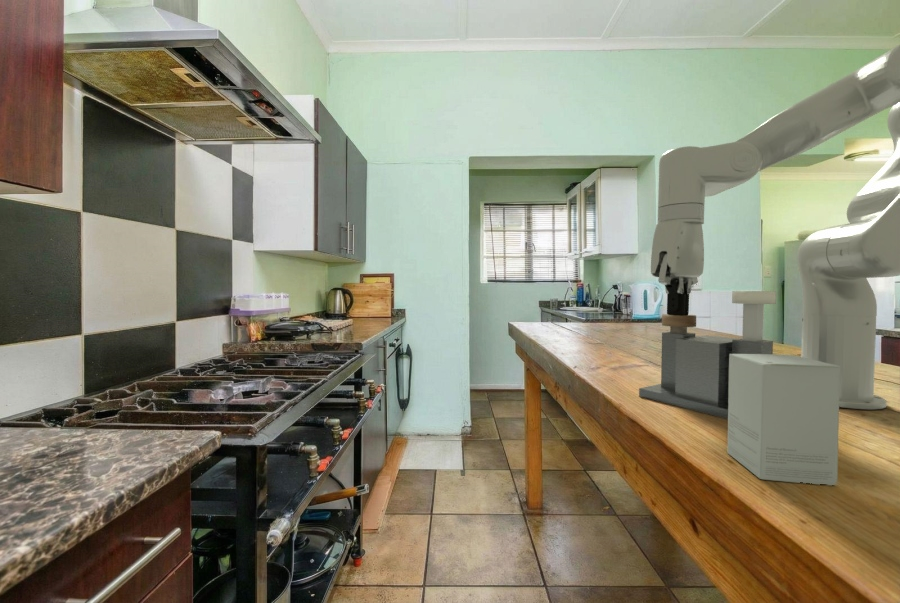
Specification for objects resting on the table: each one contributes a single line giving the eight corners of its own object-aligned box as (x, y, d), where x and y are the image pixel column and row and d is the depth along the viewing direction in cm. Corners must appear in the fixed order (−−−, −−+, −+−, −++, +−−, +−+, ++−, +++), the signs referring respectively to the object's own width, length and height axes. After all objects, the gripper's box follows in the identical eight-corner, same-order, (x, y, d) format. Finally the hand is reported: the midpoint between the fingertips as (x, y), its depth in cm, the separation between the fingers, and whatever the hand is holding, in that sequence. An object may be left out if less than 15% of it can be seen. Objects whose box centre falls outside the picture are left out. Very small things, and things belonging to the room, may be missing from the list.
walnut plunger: (671, 373, 78) (672, 313, 78) (701, 379, 73) (702, 315, 73) (654, 376, 76) (655, 314, 75) (684, 382, 71) (685, 316, 70)
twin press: (678, 387, 81) (679, 329, 80) (794, 412, 64) (796, 340, 64) (639, 396, 74) (640, 333, 74) (756, 426, 58) (758, 346, 57)
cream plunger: (740, 360, 68) (742, 290, 67) (780, 365, 63) (782, 291, 62) (723, 363, 65) (725, 291, 65) (764, 369, 60) (766, 291, 60)
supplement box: (840, 487, 40) (844, 365, 40) (758, 480, 42) (761, 363, 41) (793, 457, 48) (796, 353, 47) (724, 452, 49) (727, 351, 49)
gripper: (682, 223, 80) (680, 312, 81) (636, 216, 73) (634, 314, 74) (723, 218, 74) (720, 315, 75) (677, 209, 66) (674, 317, 67)
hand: (677, 314), depth 74 cm, fingers closed
